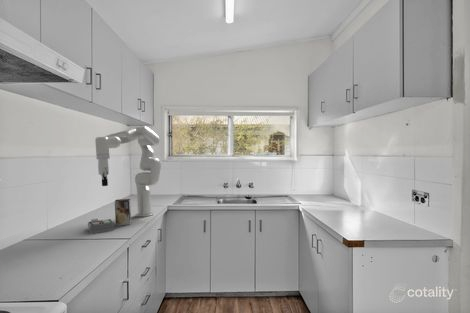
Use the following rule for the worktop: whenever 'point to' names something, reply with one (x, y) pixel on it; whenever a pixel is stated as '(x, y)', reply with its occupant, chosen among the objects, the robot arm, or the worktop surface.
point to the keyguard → (101, 227)
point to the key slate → (94, 220)
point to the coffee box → (122, 212)
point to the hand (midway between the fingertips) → (105, 185)
